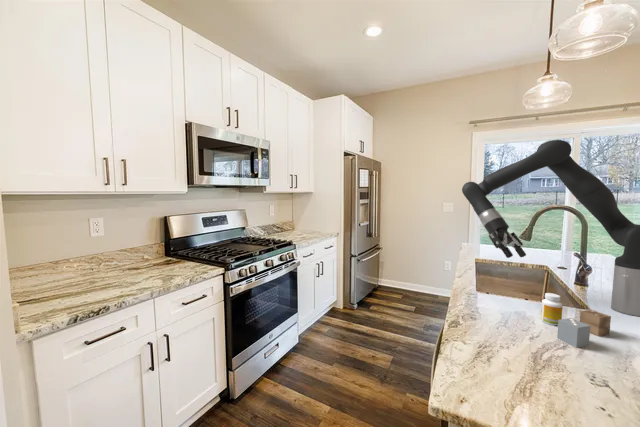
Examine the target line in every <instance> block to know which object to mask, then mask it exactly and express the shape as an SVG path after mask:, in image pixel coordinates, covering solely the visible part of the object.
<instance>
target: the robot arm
mask: <svg viewBox="0 0 640 427" xmlns="http://www.w3.org/2000/svg"><path fill="white" fill-rule="evenodd" d="M571 153H572V146H571V144H570V143H569V142H568V141H565V140H563V139H562V140H561V139H553V140H551V139H550V140H548V141H545V142H542V143H541V144H539V146H538V147H537V149H536V151H535V152H534V153H532V154H530V155H528V156H526V157H525V158H522V159H520V160H518V161H516V162H513V163H511V164H508V165H506V166H504V167H502V168H499V169H497V170H495V171H493V172H491V173H490V174H487V175H485V176H484V177H483V180H482V181H481V182H480V183H477V182H474V181H467V182H466V183H464V185H462V188H461V191H462V192H461V193H462V194H463V195H464V198H466V200H467V201H468V202H469V204H470V205H471V207H472V209H473V211H474V212H475V214H476V215H477V217H478V218H479V222H481V224H482V225H483V227H484V228H485V230H486V232H487V233H488V238H489V239H490V241H491V242H492V244H493V246H494V248H496V249H499V250H501V251H502V253H503V254H504V256H505V257H506V258H507V259H509V258H512V257H513V256H514V254H513V253H512V251H511V250H510V249H509V247H512V248H513V249H514V251H515V252H516V253H517V255H518V256H519V257H520V258H523V257H526V256H527V254H526V251H525V250H523V248H522V246H523V245H524V243H523V242H522V240H520V238H519V237H518V236H517V234H516V233H515V232H514V231H513V232H511V233H510V232H509V231H508V229H509V228H510V226H509V224H508V222H506V220H505V219H504V218H503V216H502V214H500V212H499V211H498V210H497V209H496V207H495V206H494V204H493V203H492V202H491V201H490V200H489V199H488V198H487V196H488V195H490V194H491V193H492V192H493V191H494V190H497V189H499V188H502V187H504V186H506V185H509V184H510V183H511V182H514V181H515V180H518V179H520V178H522V177H524V176H526V175H529V174H531V173H533V172H535V171H538V170H541V169H544V168H546V167H547V168H548V169H549V170H550V171H551V172H553V173H554V174H555V175H556V176H557V177H558V178H559V179H560V181H561V182H562V184H564V186H565V187H566V188H567V190H568V191H569V192H570V193H571V194H572V195H573V196H574V197H575V198H576V199H577V201H578V202H579V203H580V204H581V205H582V206H583V207H584V208H585V209H586V210H587V211H588V212H589V213H590V214H591V215H592V216H593V217H594V218H595V219H596V220H597V221H598V223H600V224H601V226H602V227H603V228H604V229H605V231H606V233H607V234H608V235H609V237H610V238H611V239H612V240H613V242H615V243H616V244H617V245H619V246H621V247H623V253H622V254H621V255H620V256H617V257H615V259H614V268H613V277H612V278H613V279H612V289H611V291H612V292H611V301H610V302H611V303H610V308H611V309H612V310H614V311H617V312H618V313H622V314H626V315H629V316H630V315H631V316H635V317H640V224H637V223H636V224H635V223H633V222H632V221H631V220H630V219H629V218H627V217H626V216H625V214H624V213H622V212H621V210H620V209H619V207H618V204H617V200H616V197H615V195H614V193H613V191H612V190H611V189H610V188H609V187H608V186H607V185H606V184H605V183H604V182H603V181H602V180H601V179H599V178H598V177H597V176H595V174H592V172H590V171H588V170H587V169H585V168H583V167H582V166H581V165H580V164H578V163H577V162H576V161H575V160H574V158H572V156H571V155H572V154H571ZM507 245H508V246H507Z"/></svg>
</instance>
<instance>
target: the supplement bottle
mask: <svg viewBox="0 0 640 427" xmlns="http://www.w3.org/2000/svg"><path fill="white" fill-rule="evenodd" d="M560 301H561V295H558V294H557V293H552V292H545V293H544V299H542V300H541V310H540V320H541V322H542V323H544V324H547V325H549V324H550V325H551V326H554V325H557V327H558V320H560V319H563V318H562V316H563V308H564V307H563V303H562V302H560ZM550 325H549V326H550Z"/></svg>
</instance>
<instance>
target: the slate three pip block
mask: <svg viewBox="0 0 640 427" xmlns="http://www.w3.org/2000/svg"><path fill="white" fill-rule="evenodd" d="M590 335H591V333H590V325H587V324H585V323H582V322H580V320H577V319H575V318H572V317H569V318H562V319H560V320H558V326H557V335H556V336H557V338H558V339H557V338H556V339H557V340H559V339H560V340H559V341H561V340H562V342H563V341H564V343H565V342H566V343H565V344H567V343H568V345H569V346H572V347H573V348H576V349H577V348H582V347H588V346H590V338H591V337H590Z"/></svg>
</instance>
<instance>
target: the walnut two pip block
mask: <svg viewBox="0 0 640 427" xmlns="http://www.w3.org/2000/svg"><path fill="white" fill-rule="evenodd" d="M611 319H612V316H611V315H608V314H605V313H602V312H599V311H596V310H593V309H587V310H580V313H579V322H582V323H585V324H587V325H590V335H593V336H596V337H598V336H599V337H603V335H605V336H610V334H611V333H610V332H611V323H612V322H611Z"/></svg>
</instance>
